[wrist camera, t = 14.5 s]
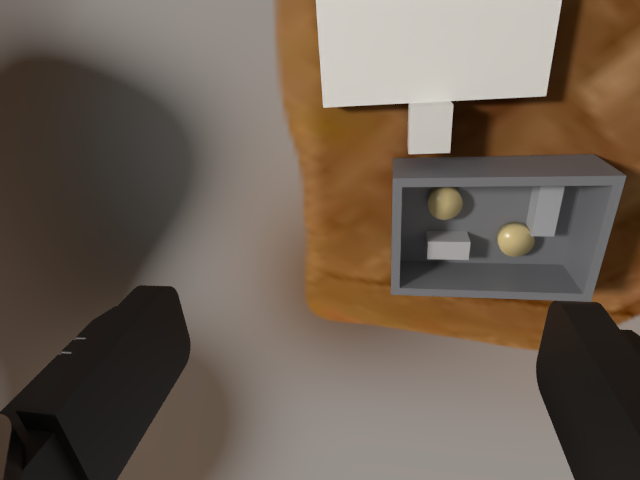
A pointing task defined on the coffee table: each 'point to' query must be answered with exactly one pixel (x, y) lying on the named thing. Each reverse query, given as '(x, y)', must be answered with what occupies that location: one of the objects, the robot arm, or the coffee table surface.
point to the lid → (434, 56)
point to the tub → (502, 225)
